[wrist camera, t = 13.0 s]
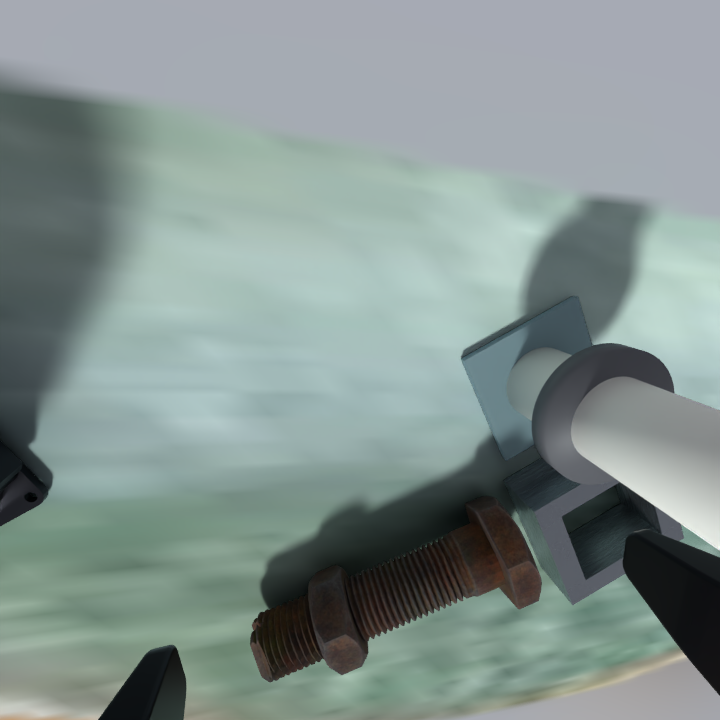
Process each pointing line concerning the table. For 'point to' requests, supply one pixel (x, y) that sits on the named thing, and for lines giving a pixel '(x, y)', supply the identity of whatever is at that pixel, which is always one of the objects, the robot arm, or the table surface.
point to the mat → (498, 358)
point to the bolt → (395, 594)
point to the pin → (623, 428)
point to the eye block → (591, 541)
